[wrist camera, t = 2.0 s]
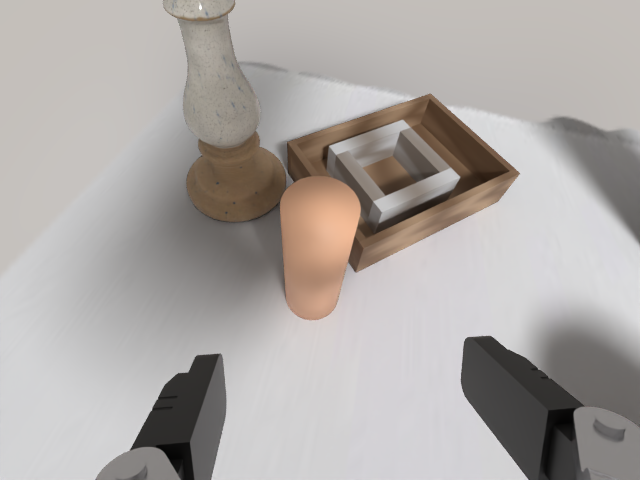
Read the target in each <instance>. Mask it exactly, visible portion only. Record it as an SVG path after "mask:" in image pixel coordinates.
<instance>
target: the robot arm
mask: <svg viewBox="0 0 640 480" xmlns="http://www.w3.org/2000/svg"><path fill="white" fill-rule="evenodd" d="M461 385H462V389H463V392H464V395H465V397H466V398H467V400H468V401H469V403H470V404H471V405H472V406H473V408H474V409H475V410H476V412H477V413H478V414H479V416H480V417H481V418H482V419H483V421H484V422H485V423H486V425H487V426H488V427H489V429H490V430H491V431H492V432H493V434H494V435H495V436H496V438H497V439H498V440H499V442H500V443H501V444H502V446H503V447H504V448H505V449H506V451H507V452H508V453H509V455H510V456H511V457H512V459H513V460H514V461H515V462H516V464H517V465H518V466H519V468H520V469H521V470H522V472H523V473H524V474H525V475H526V477H527V478H528V479H529V480H640V427H639V426H637V425H636V424H635V423H634V422H632V421H630V420H629V419H627V418H625V417H624V416H622V415H619V414H617V413H615V412H612V411H609V410H606V409H603V408H598V407H590V406H586V407H585V406H584V405H583V404H581V403H580V402H579V401H578V400H576V399H575V398H574V397H573V396H572V395H570V394H569V393H568V392H567V391H565V390H564V389H563V388H562V387H560V386H559V385H558V384H557V383H556V382H554V381H553V380H552V379H549V378H548V376H547V375H546V374H545V373H543V372H542V371H541V370H538V368H537V367H536V366H535V365H533V364H532V363H531V362H530V361H529V360H527V359H526V358H525V357H523V356H521V355H518V354H516V353H514V352H512V351H510V350H507V349H506V348H505V347H504V346H503V345H501V344H500V343H499V342H498V341H497V340H495V339H494V338H493V337H491V336H479V337H467V338H466V339H465V341H464V348H463V360H462V372H461ZM225 416H226V389H225V378H224V367H223V358H222V355H221V354H210V355H197V356H196V357H195V359H194V361H193V364H192V366H191V368H190V370H189V372H188V373H178V374H177V375H175V376H174V377H173V378H172V379H171V380H170V381H169V382H168V383H166V384H165V386H164V388H163V389H162V391H161V393H160V395H159V397H158V400H157V401H156V403H155V404H154V406H153V408H152V411H151V412H150V414H149V416H148V418H147V419H146V421H145V423H144V425H143V427H142V429H141V431H140V432H139V434H138V436H137V438H136V440H135V442H134V444H133V446H132V447H131V449H130V451H128V452H126V453H123V454H122V455H120V456H118V457H116V458H115V459H114V460H112V461H111V462H110V463H108V464H107V465H106V466H105V467H104V468H103V469H102V470H101V472H100V473H99V474H98V476H97V478H96V479H95V480H211V477H212V473H213V469H214V464H215V460H216V456H217V451H218V447H219V443H220V438H221V434H222V430H223V425H224V421H225Z"/></svg>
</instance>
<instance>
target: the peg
mask: <svg viewBox="0 0 640 480" xmlns="http://www.w3.org/2000/svg"><path fill="white" fill-rule="evenodd" d="M360 212H361V207H360V202H359V199H358V197H357V195H356V194H355V192H354V191H353V190H352V189H351V188H350V187H349V186H348V185H346V184H345V183H343V182H341V181H339V180H337V179H334V178H331V177H326V176H311V177H306V178H303V179H300V180H298V181H296V182H294V183H293V184H292V185H290V186H289V187H288V188H287V189H286V191H285V192H284V194H283V195H282V198H281V201H280V217H281V232H282V247H283V262H284V277H285V292H286V301H287V304H288V306H289V308H290V309H291V311H292V312H293V313H294V314H296V315H297V316H299V317H301V318H303V319H307V320H318V319H321V318H324V317H326V316H327V315H329V314H330V313H331V312H332V311H333V310H334V308H335V307H336V304H337V301H338V298H339V294H340V290H341V286H342V282H343V278H344V275H345V271H346V267H347V263H348V259H349V256H350V252H351V248H352V244H353V240H354V236H355V233H356V229H357V225H358V221H359V217H360Z"/></svg>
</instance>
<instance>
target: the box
mask: <svg viewBox="0 0 640 480" xmlns="http://www.w3.org/2000/svg"><path fill="white" fill-rule="evenodd" d="M287 153H288V173H289V175H290V176H291V178H292V179H293V181H294V182H296V181H298V180H300V179H303V178H306V177H311V176H326V177H331V178H334V179H337V180H339V181H341V182H343V183H345V184H346V185H348V186H349V187H350V188H351V189H352V190H353V191H354V192H355V194H356V195H357V197H358V199H359V202H360V207H361V212H360V217H359V221H358V225H357V229H356V233H355V236H354V240H353V244H352V248H351V252H350V256H349V259H348V262H349V263H350V265H351V266H352V268H353V269H354V271H355V272H358V271H360V270H362V269H364V268H366V267H368V266H370V265H372V264H374V263H376V262H378V261H380V260H382V259H384V258H386V257H388V256H390V255H392V254H394V253H396V252H398V251H400V250H402V249H404V248H406V247H408V246H410V245H412V244H414V243H416V242H418V241H420V240H422V239H424V238H426V237H428V236H430V235H432V234H434V233H436V232H438V231H440V230H442V229H444V228H446V227H448V226H450V225H452V224H454V223H456V222H458V221H460V220H462V219H464V218H466V217H468V216H470V215H472V214H474V213H476V212H478V211H480V210H482V209H484V208H486V207H488V206H490V205H492V204H494V203H496V202H498V201H499V200H500V198H501V197H502V196H503V195H504V193H505V192H506V191H507V189H508V188H509V187H510V186H511V184H512V183H513V182H514V181H515V179H516V178H517V177H518V175H519V174H520V173H519V172H518V171H517V170H516V169H515V168H514V167H512V166H511V165H510V164H509V163H508V162H507V161H506V160H505V159H503V158H502V157H501V156H500V155H499V154H498V153H497V152H496V151H494V150H493V149H492V148H491V147H490V146H489V145H488V144H487V143H485V142H484V141H483V140H482V139H481V138H480V137H479V136H478V135H476V134H475V133H474V132H473V131H472V130H471V129H470V128H469V127H468V126H466V125H465V124H464V123H463V122H462V121H461V120H460V119H459V118H457V117H456V116H455V115H454V114H453V113H452V112H451V111H450V110H448V109H447V108H446V107H445V106H444V105H443V104H442V103H441V102H439V101H438V100H437V99H436V98H435V97H434V96H433V95H432V94H428V95H425V96H422V97H419V98H416V99H413V100H410V101H407V102H404V103H401V104H398V105H395V106H392V107H389V108H386V109H383V110H381V111H378V112H375V113H372V114H369V115H366V116H363V117H360V118H357V119H354V120H351V121H348V122H345V123H342V124H339V125H336V126H333V127H330V128H327V129H324V130H321V131H318V132H315V133H312V134H309V135H306V136H303V137H301V138H298V139H295V140H292V141H289V142H287Z"/></svg>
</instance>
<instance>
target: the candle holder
mask: <svg viewBox="0 0 640 480" xmlns="http://www.w3.org/2000/svg"><path fill="white" fill-rule="evenodd" d="M163 5H164V8H165V10H166V11H167V12H168V13H169V14H171V15H172V16H174V17H176V18H177V20H178V23H179V25H180V28H181V32H182V36H183V41H184V45H185V50H186V55H187V59H188V60H187V61H188V76H187V81H186V86H185V90H184V96H183V114H184V118H185V121H186V124H187V125H188V127H189V129H190V130H191V131H192V133H193V134H194V135H195V136H196V137H198V138H199V141H198V147H199V150H200V152H201V154H202V156H201V157H199V158H198V159H197V160H196V161H195V162H194V164H193V165H192V167H191V168H190V170H189V172H188V175H187V191H188V194H189V196H190V199H191V201H192V202H193V204H194V205H195V206H196V208H197V209H199V210H200V211H201V212H202V213H204V214H205V215H207V216H209V217H211V218H214V219H217V220H221V221H227V222H241V221H248V220H251V219H255V218H257V217H260V216H262V215H264V214H265V213H267V212H269V211H270V210H271V209H272V208H274V207H275V206H276V205H277V203H278V202H279V201H280V199H281V198H282V195H283V194H284V191H285V187H286V174H285V170H284V167H283V165H282V163H281V162H280V160H279V159H278V158H277V157H276V156H275V155H274V154H273V153H271V152H270V151H268V150H266V149H264V148H262V147H259V145H260V139H259V136H258V133H257V132H256V129H257V127H258V125H259V121H260V116H261V111H260V104H259V101H258V98H257V96H256V94H255V92H254V90H253V88H252V86H251V84H250V83H249V81H248V80H247V78H246V77H245V75H244V74H243V72H242V71H241V69H240V67H239V65H238V63H237V60H236V58H235V55H234V50H233V45H232V41H231V36H230V30H229V25H228V13H230V12H231V11H232V10H233V8H234V6H235V0H163Z"/></svg>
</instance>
